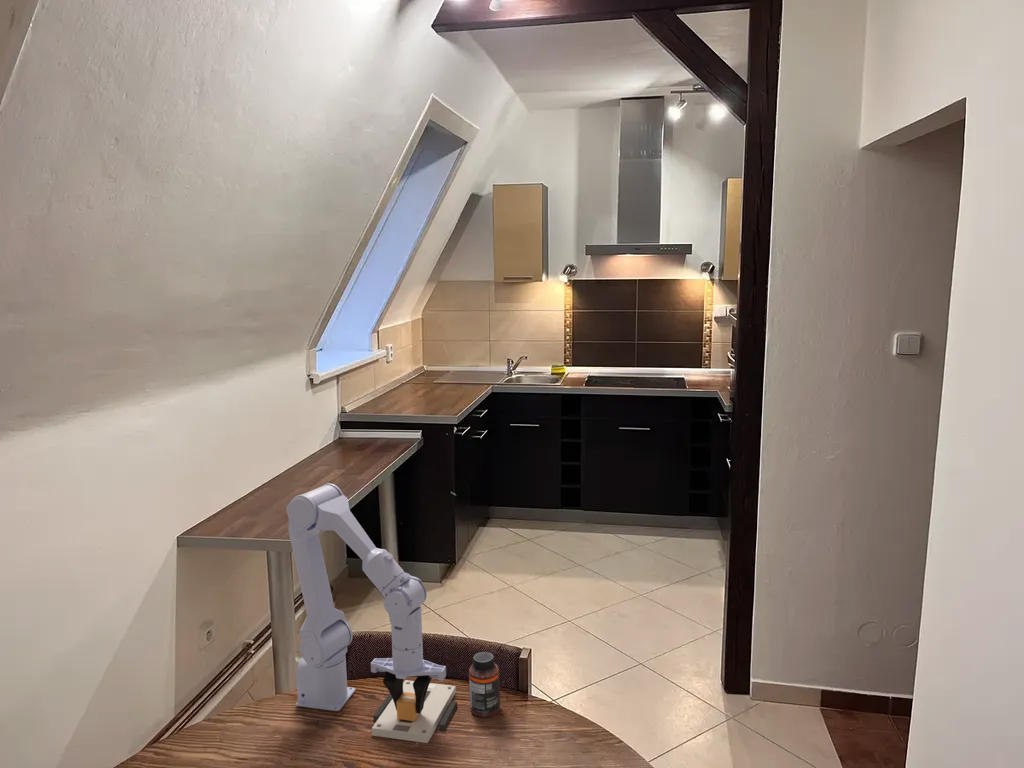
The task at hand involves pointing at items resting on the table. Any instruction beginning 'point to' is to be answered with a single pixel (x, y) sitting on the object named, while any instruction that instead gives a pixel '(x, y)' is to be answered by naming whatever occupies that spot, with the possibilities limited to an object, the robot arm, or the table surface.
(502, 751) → the table surface
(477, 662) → the supplement bottle
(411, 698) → the orange cube
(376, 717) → the twin dark grey rails
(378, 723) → the panel
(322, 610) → the robot arm
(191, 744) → the table surface
